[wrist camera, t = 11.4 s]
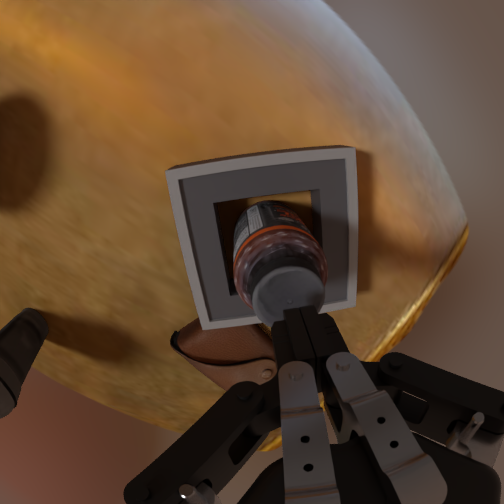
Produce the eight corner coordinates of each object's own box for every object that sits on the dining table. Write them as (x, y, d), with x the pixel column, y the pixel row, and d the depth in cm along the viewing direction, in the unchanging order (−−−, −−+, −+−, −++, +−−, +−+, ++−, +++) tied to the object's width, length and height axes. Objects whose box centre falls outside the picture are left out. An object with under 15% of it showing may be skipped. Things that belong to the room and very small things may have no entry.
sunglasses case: (325, 380, 34) (311, 427, 29) (283, 382, 38) (267, 424, 34) (229, 290, 28) (197, 347, 23) (189, 303, 32) (160, 351, 28)
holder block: (173, 165, 23) (165, 170, 20) (340, 144, 23) (355, 147, 20) (205, 309, 28) (202, 330, 25) (344, 288, 28) (355, 306, 25)
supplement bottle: (314, 221, 25) (365, 284, 15) (276, 273, 27) (300, 357, 17) (257, 184, 24) (277, 227, 14) (220, 241, 26) (212, 318, 15)
